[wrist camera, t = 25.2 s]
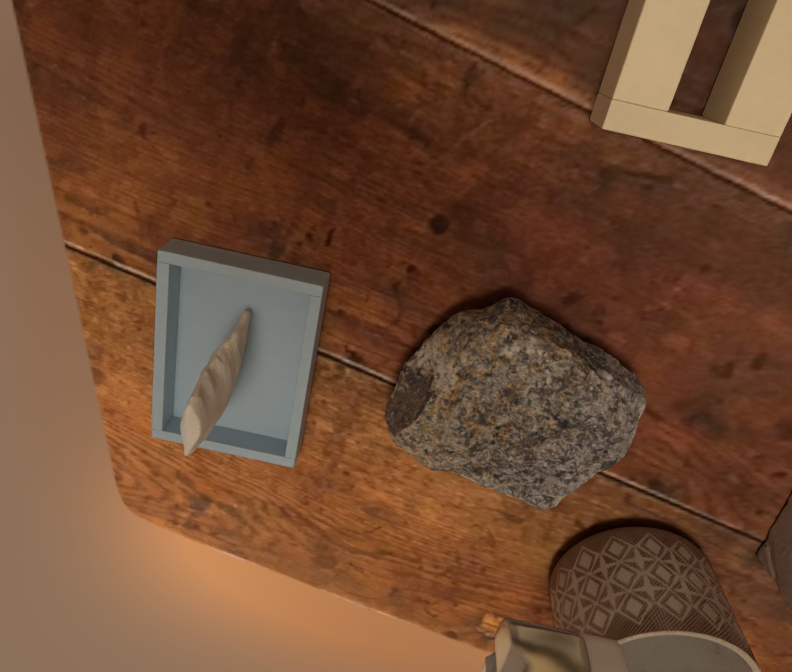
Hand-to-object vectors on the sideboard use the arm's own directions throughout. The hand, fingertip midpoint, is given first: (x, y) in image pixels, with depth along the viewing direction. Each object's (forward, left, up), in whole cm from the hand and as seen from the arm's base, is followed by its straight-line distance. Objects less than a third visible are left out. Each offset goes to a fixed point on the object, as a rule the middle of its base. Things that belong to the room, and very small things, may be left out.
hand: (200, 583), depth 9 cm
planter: (+25, -29, -33) cm, 51 cm away
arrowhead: (-8, -16, -33) cm, 37 cm away
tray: (-8, -16, -33) cm, 38 cm away
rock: (+11, -14, -33) cm, 38 cm away
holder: (+15, +10, -33) cm, 38 cm away
